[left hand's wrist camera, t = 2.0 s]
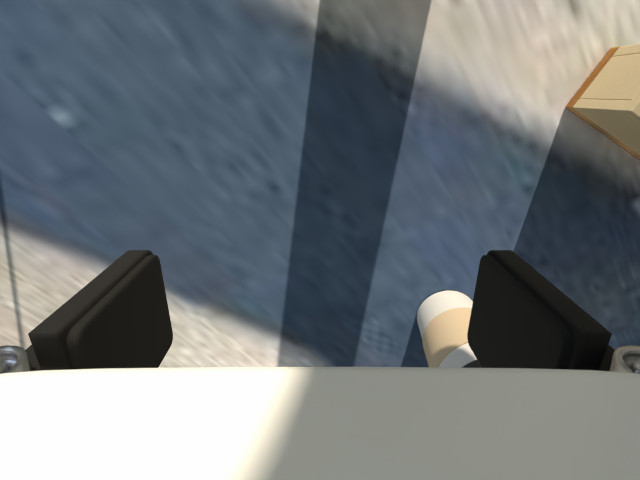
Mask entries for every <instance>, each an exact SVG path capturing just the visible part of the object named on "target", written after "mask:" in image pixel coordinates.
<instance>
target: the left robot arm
mask: <svg viewBox="0 0 640 480" xmlns="http://www.w3.org/2000/svg"><path fill="white" fill-rule="evenodd" d="M28 335H29V337H30V340H31V343H32V345H31V346H30V347H29V348H27V349H26V350H24V349H23V348H21V347H18V346H0V480H640V346H622V347H619V348H617V349H616V350H614V349H613V348H611V347H610V346H609V345H608V343H609V340H610V337H611V335H612V334H611V333H610V332H609V331H608V330H607V329H605V328H604V327H603V326H602V325H601V324H599V323H598V322H597V321H596V320H595V319H593V318H592V317H591V316H590V315H589V314H587V313H586V312H585V311H584V310H583V309H581V308H580V307H579V306H578V305H577V304H575V303H574V302H573V301H572V300H571V299H569V298H568V297H567V296H566V295H565V294H563V293H562V292H561V291H560V290H559V289H557V288H556V287H555V286H554V285H553V284H551V283H550V282H549V281H548V280H547V279H545V278H544V277H543V276H542V275H541V274H539V273H538V272H537V271H536V270H535V269H533V268H532V267H531V266H530V265H529V264H527V263H526V262H525V261H524V260H523V259H521V258H520V257H519V256H518V255H517V254H515V253H514V252H513V251H511V250H492V251H489V252H488V254H487V255H483V256H482V258H481V260H480V265H479V271H478V276H477V282H476V288H475V293H474V299H473V304H472V310H471V316H470V321H469V327H468V333H467V339H468V344H469V346H470V348H471V350H472V351H473V353H474V355H475V357H476V358H477V360H478V362H479V363H480V365H481V367H482V368H439V367H196V368H158V367H159V365H160V363H161V362H162V360H163V358H164V357H165V355H166V353H167V351H168V350H169V348H170V346H171V344H172V339H173V333H172V327H171V321H170V316H169V310H168V304H167V299H166V293H165V288H164V282H163V276H162V271H161V265H160V260H159V258H158V256H157V255H153V254H152V252H151V251H148V250H129V251H127V252H126V253H125V254H123V255H122V256H121V257H120V258H119V259H117V260H116V261H115V262H114V263H113V264H111V265H110V266H109V267H108V268H107V269H105V270H104V271H103V272H102V273H101V274H99V275H98V276H97V277H96V278H95V279H93V280H92V281H91V282H90V283H89V284H87V285H86V286H85V287H84V288H83V289H81V290H80V291H79V292H78V293H77V294H75V295H74V296H73V297H72V298H71V299H69V300H68V301H67V302H66V303H65V304H63V305H62V306H61V307H60V308H59V309H57V310H56V311H55V312H54V313H53V314H51V315H50V316H49V317H48V318H47V319H45V320H44V321H43V322H42V323H41V324H39V325H38V326H37V327H36V328H35V329H33V330H32V331H31V332H30V333H29V334H28Z"/></svg>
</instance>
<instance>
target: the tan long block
mask: <svg viewBox="0 0 640 480" xmlns="http://www.w3.org/2000/svg"><path fill="white" fill-rule="evenodd" d="M566 108H567V109H569V110H570V111H572V112H573V113H574V114H576V115H577V116H579V117H580V118H581V119H583V120H584V121H586V122H587V123H588V124H590V125H591V126H593V127H594V128H595V129H597V130H598V131H600V132H601V133H603V134H604V135H605V136H607V137H608V138H610V139H611V140H612V141H614V142H615V143H617V144H618V145H619V146H621V147H622V148H624V149H625V150H626V151H628V152H629V153H631V154H632V155H633V156H635V157H636V158H638V159H639V160H640V44H638V45H631V46H624V47H614V48H611V49H610V50H609V51H608V53H607V54H606V55H605V56H604V58H603V59H602V60H601V62H600V63H599V64H598V66H597V67H596V68H595V69H594V71H593V72H592V73H591V75H590V76H589V77H588V78H587V80H586V81H585V82H584V84H583V85H582V86H581V88H580V89H579V90H578V91H577V93H576V94H575V95H574V97H573V98H572V99H571V101H570V102H569V103H568V104H567V106H566Z"/></svg>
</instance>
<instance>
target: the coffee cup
mask: <svg viewBox="0 0 640 480" xmlns="http://www.w3.org/2000/svg"><path fill="white" fill-rule="evenodd" d="M472 304H473V301H472V300H471V299H470V298H469V297H468V296H466V295H465V294H463V293H460V292H457V291H442V292H438V293H435V294H433V295H431V296H430V297H428V298H427V299H426V300H425V301H424V302H423V303H422V304H421V306H420V308H419V310H418V313H417V323H418V326H419V330H420V333H421V336H422V343H423V348H424V352H425V355H426V359H427V362H428V366H429V367H439V368H482V367H481V365H480V363H479V362H478V360H477V358H476V357H475V355H474V353H473V351H472V350H471V348H470V346H469V344H468V339H467V333H468V327H469V321H470V316H471V310H472Z"/></svg>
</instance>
